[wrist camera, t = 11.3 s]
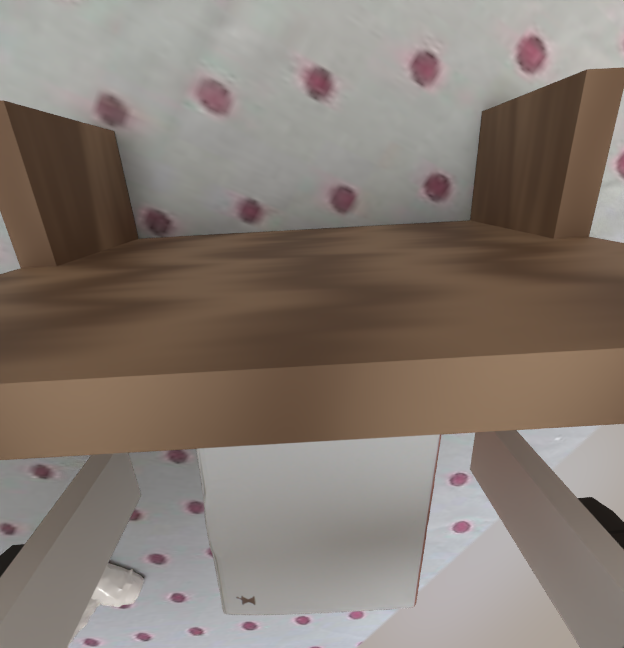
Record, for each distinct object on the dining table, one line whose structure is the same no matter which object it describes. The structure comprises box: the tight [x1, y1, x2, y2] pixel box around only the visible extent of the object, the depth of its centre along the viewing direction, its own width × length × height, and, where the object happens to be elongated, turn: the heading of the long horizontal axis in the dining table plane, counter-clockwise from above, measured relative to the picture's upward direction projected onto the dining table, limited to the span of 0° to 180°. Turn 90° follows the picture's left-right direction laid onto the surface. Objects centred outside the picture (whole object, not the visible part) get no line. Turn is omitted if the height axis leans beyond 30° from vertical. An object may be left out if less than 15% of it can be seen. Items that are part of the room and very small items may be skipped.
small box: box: [197, 434, 441, 615], centre depth 16 cm, size 8×6×13 cm
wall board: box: [0, 68, 624, 460], centre depth 15 cm, size 24×18×18 cm
